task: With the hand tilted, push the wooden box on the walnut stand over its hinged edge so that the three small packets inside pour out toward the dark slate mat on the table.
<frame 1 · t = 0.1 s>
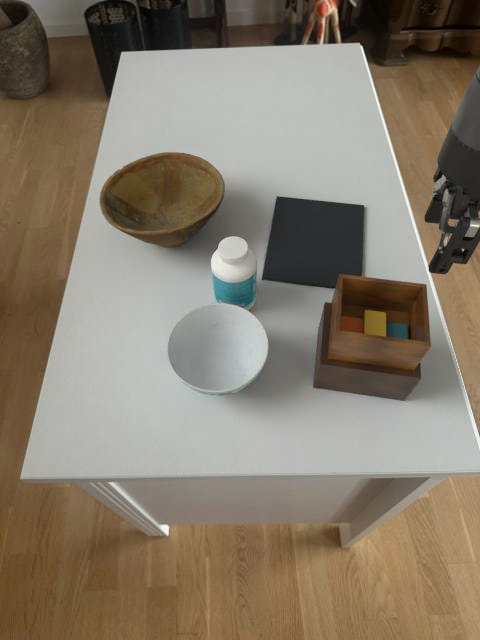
hand: (434, 245, 55), 22 cm above the table, tool pointing down, fingers open, 8 cm apart
orange packet: (353, 330, 65), point 9 cm above the table, touching wooden box, yellow rectangular block
bowl: (170, 229, 89), on the table
mat: (315, 241, 86), on the table
stand: (359, 363, 71), on the table
wooden box: (376, 322, 62), point 12 cm above the table, hinge at -0.2°, touching orange packet, teal packet
teal packet: (389, 335, 64), point 9 cm above the table, touching wooden box, yellow rectangular block
chinaware: (220, 368, 72), on the table
yellow rectangular block: (373, 328, 63), point 10 cm above the table, touching orange packet, teal packet
pill bottle: (235, 299, 79), on the table
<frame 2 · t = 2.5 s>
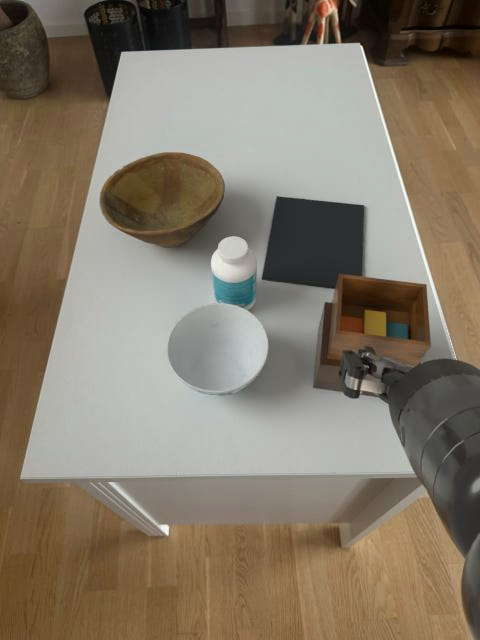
hand: (409, 364, 44), 25 cm above the table, tool tilted 45°, fingers open, 8 cm apart
nothing on the table moved.
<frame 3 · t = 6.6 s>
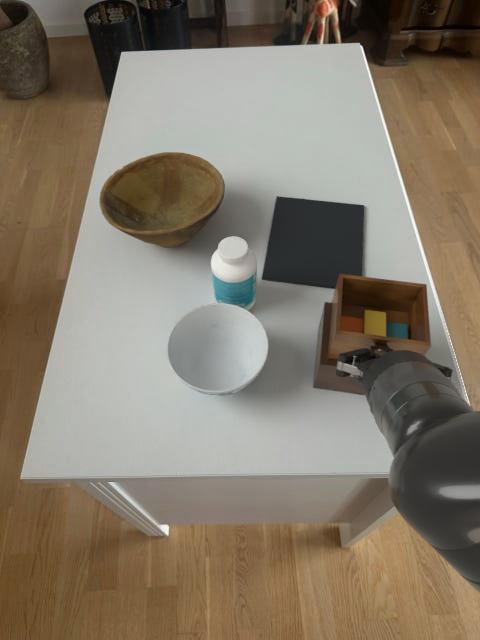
hand: (379, 351, 58), 13 cm above the table, tool tilted 45°, fingers closed
wooden box: (376, 322, 62), point 12 cm above the table, hinge at -0.1°, touching gripper, orange packet, teal packet
everything else where it was.
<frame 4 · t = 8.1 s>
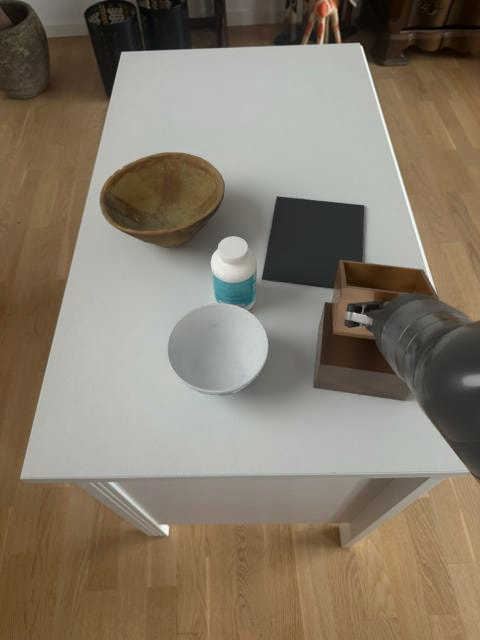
hand: (387, 307, 56), 17 cm above the table, tool tilted 45°, fingers closed
orange packet: (356, 316, 63), point 11 cm above the table, tilted 29°, touching wooden box, yellow rectangular block
wooden box: (379, 300, 62), point 14 cm above the table, hinge at 28.8°, touching gripper, orange packet, teal packet
teal packet: (394, 321, 63), point 11 cm above the table, tilted 29°, touching wooden box, yellow rectangular block
yellow rectangular block: (377, 311, 62), point 12 cm above the table, tilted 29°, touching orange packet, teal packet
everything else where it was.
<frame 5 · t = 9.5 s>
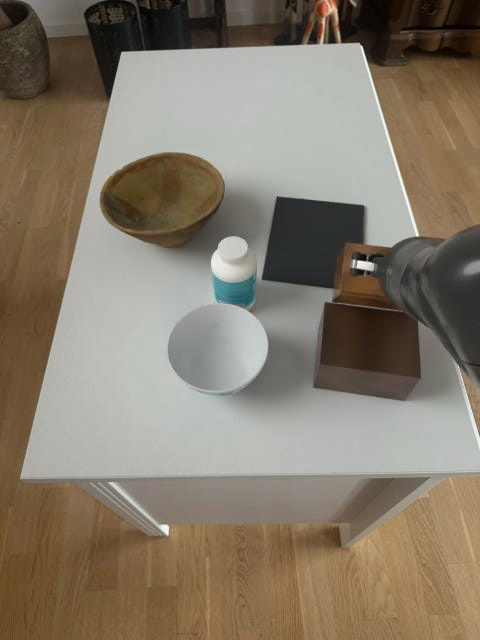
hand: (390, 263, 58), 19 cm above the table, tool tilted 45°, fingers closed
orange packet: (356, 299, 66), point 10 cm above the table, tilted 60°, touching wooden box, yellow rectangular block
wooden box: (380, 279, 63), point 14 cm above the table, hinge at 60.5°, touching gripper, yellow rectangular block, orange packet, teal packet
teal packet: (392, 304, 65), point 10 cm above the table, tilted 60°, touching wooden box, yellow rectangular block
yellow rectangular block: (376, 293, 65), point 11 cm above the table, tilted 60°, touching wooden box, orange packet, teal packet
everything else where it was.
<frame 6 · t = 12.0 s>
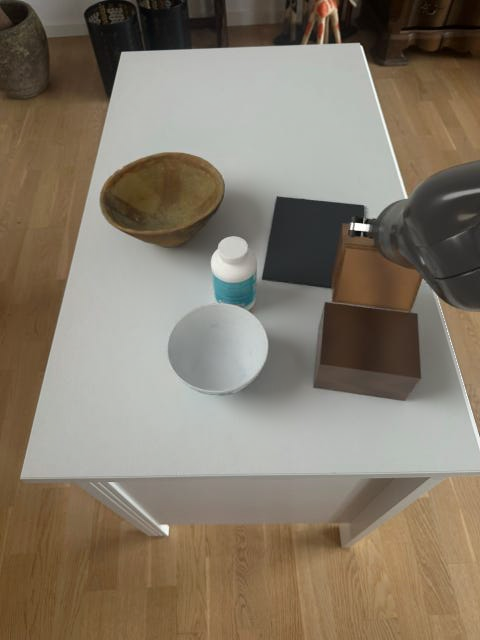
hand: (385, 230, 64), 17 cm above the table, tool tilted 45°, fingers closed
orange packet: (356, 291, 67), point 10 cm above the table, tilted 109°, touching wooden box
wooden box: (376, 267, 67), point 12 cm above the table, hinge at 109.2°, touching gripper, yellow rectangular block, orange packet, teal packet
teal packet: (391, 295, 66), point 10 cm above the table, tilted 109°, touching wooden box
yellow rectangular block: (371, 277, 71), point 8 cm above the table, tilted 161°, touching wooden box
everything else where it was.
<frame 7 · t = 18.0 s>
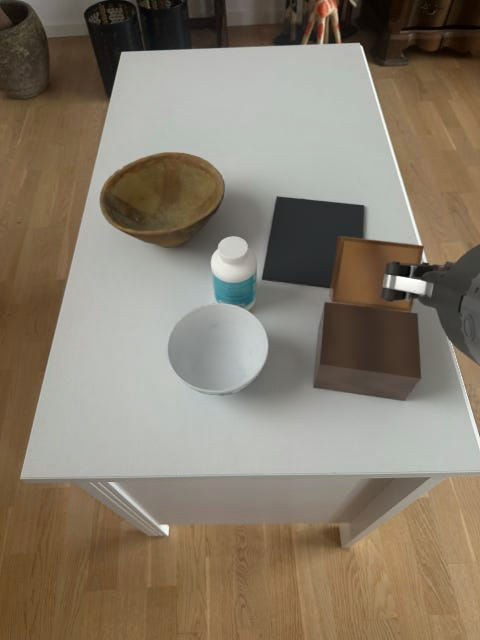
hand: (437, 277, 38), 34 cm above the table, tool tilted 45°, fingers closed
orange packet: (344, 288, 78), point 2 cm above the table, tilted 90°
wooden box: (372, 272, 70), point 9 cm above the table, hinge at 134.6°
teal packet: (381, 292, 77), point 1 cm above the table, tilted 90°
yellow rectangular block: (363, 292, 76), point 2 cm above the table, tilted 90°
everything else where it was.
at the end: wooden box at +135° (first picture: +0°); orange packet inside the target area on the mat (11.4 cm from its centre), point 1.5 cm above the mat's base; teal packet point 1.5 cm above the table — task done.
